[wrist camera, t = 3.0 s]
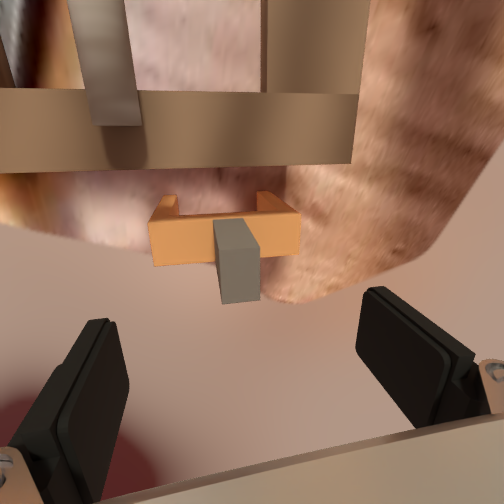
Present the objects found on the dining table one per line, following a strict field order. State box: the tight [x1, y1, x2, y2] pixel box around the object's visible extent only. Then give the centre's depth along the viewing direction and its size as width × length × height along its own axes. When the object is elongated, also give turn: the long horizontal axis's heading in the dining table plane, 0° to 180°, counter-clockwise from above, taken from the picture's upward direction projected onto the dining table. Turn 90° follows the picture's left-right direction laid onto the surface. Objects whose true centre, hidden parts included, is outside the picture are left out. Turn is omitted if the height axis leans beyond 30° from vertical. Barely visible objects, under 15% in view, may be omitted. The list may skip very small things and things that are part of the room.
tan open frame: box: [0, 0, 371, 173], centre depth 16 cm, size 24×14×14 cm, turn 91°
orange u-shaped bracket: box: [147, 191, 301, 304], centre depth 21 cm, size 10×3×15 cm, turn 91°
